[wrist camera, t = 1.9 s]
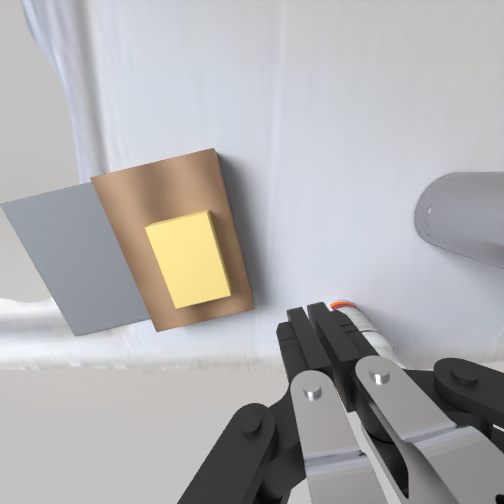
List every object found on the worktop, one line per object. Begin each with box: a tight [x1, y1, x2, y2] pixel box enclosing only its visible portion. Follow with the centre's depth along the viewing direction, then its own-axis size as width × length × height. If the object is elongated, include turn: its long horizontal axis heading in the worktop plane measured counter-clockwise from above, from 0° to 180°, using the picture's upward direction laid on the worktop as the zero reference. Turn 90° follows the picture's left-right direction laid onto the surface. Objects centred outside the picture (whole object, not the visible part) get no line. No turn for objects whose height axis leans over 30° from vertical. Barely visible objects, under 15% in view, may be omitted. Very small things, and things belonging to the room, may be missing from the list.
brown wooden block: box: [91, 148, 255, 332], centre depth 27 cm, size 12×18×4 cm, turn 13°
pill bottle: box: [326, 300, 408, 370], centre depth 28 cm, size 6×6×11 cm
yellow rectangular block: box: [145, 210, 231, 309], centre depth 24 cm, size 6×9×2 cm, turn 13°
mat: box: [0, 182, 150, 336], centre depth 29 cm, size 12×18×1 cm, turn 13°
